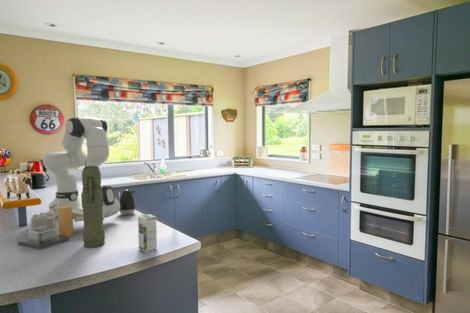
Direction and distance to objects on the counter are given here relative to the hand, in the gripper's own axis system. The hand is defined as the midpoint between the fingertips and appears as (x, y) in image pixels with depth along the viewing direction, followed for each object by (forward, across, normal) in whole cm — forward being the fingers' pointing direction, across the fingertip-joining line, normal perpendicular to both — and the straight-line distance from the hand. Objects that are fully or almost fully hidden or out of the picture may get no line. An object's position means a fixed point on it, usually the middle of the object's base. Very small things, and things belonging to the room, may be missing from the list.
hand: (68, 218), depth 159 cm
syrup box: (-1, +50, +8) cm, 51 cm away
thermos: (+5, +24, +8) cm, 26 cm away
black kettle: (-43, -5, +8) cm, 44 cm away
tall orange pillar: (+2, 0, +8) cm, 8 cm away
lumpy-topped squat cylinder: (+1, -19, +8) cm, 21 cm away
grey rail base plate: (+13, 0, +8) cm, 15 cm away
